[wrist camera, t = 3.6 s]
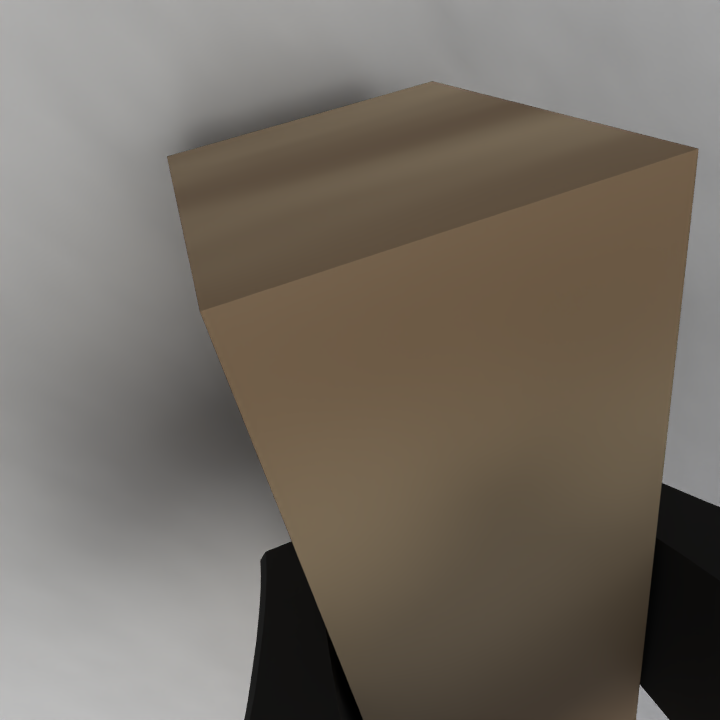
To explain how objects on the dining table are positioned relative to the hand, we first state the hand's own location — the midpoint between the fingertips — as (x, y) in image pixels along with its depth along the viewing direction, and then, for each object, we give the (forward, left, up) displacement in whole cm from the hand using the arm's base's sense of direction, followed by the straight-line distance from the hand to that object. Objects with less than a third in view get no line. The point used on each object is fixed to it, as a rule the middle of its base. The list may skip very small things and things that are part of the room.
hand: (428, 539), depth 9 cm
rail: (0, +2, -2) cm, 3 cm away
